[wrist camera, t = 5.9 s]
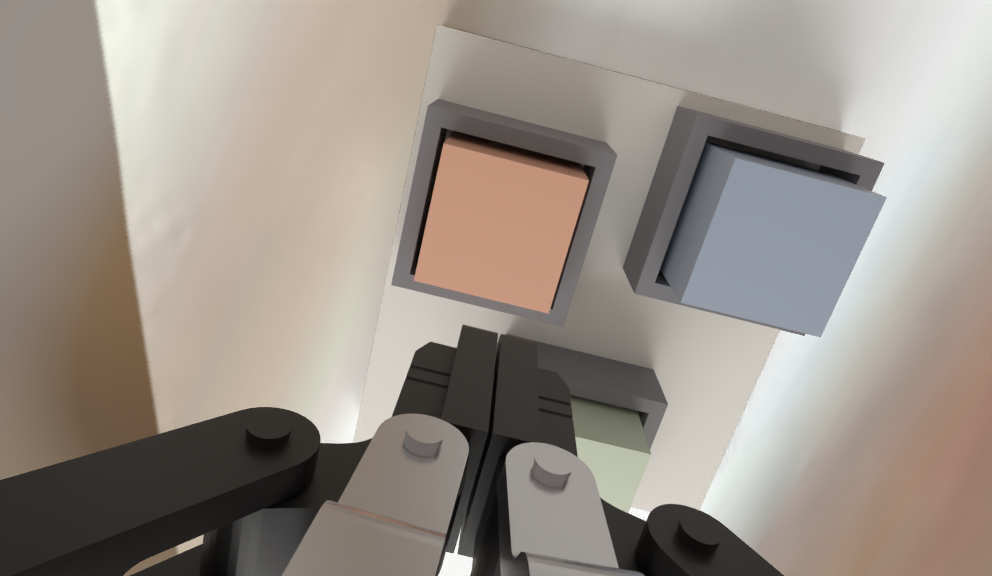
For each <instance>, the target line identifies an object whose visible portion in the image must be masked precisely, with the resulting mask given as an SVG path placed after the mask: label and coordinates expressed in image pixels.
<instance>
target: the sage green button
mask: <svg viewBox="0 0 992 576" xmlns="http://www.w3.org/2000/svg"><path fill="white" fill-rule="evenodd" d="M570 398H571V407H572V414H573V417H572V419H573V423H574V431H575V439H576V447H577V455H578V458H579V459H581V460H582V461H583V462H584V463H585V464H586V465H587V466H588V467H589V469H590V470H591V472H592V473H593V475H594V477H595V480H596V484H597V488H598V492H599V495H600V497H601V498H602V499H603V500H605V501H606V502H608V503H609V504H611V505H612V506H614V507H616V508H618V509H620V510H622V511H624V512H627V513H628V512H629V509H630V507H631V504H632V502H633V499H634V497H635V494H636V492H637V489H638V487H639V484H640V481H641V479H642V476H643V474H644V471H645V469H646V466H647V464H648V461H649V459H650V456H651V452H650V449H649V446H648V443H647V440H646V436H645V433H644V430H643V427H642V424H641V421H640V418H639V415H638V412H637V411H636V410H632V409H628V408H624V407H619V406H615V405H611V404H607V403H603V402H598V401H594V400H590V399H586V398H581V397H577V396H573V395H570Z"/></svg>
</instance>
